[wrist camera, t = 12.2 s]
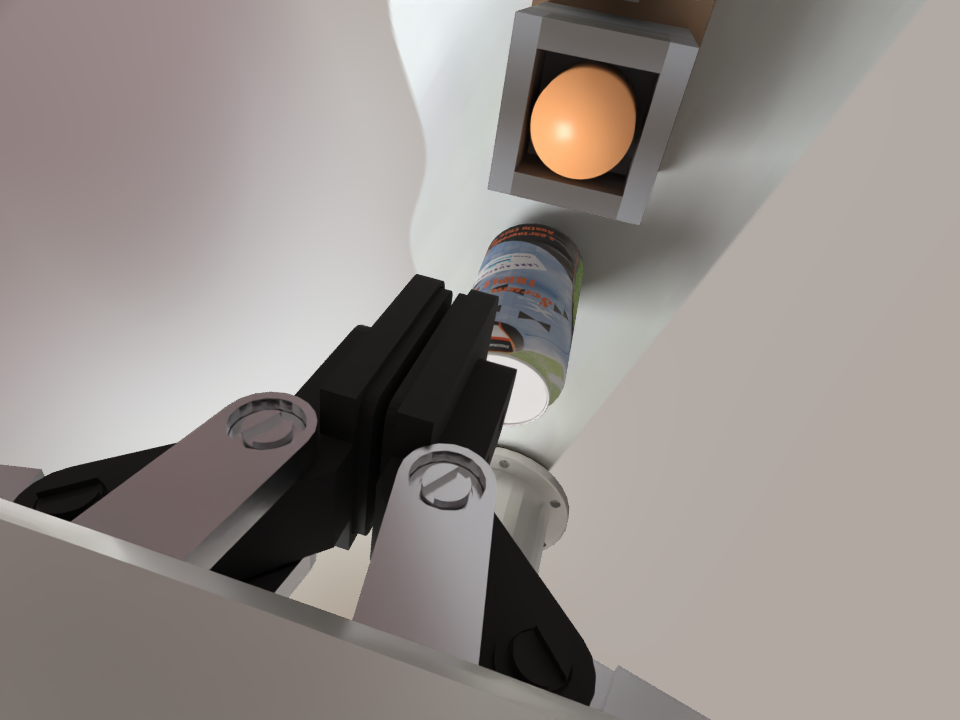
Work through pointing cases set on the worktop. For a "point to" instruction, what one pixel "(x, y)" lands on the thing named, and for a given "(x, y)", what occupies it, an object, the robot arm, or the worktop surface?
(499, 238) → the beverage can
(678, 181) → the worktop surface
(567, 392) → the worktop surface
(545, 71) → the rail bench
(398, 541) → the robot arm
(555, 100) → the plunger
